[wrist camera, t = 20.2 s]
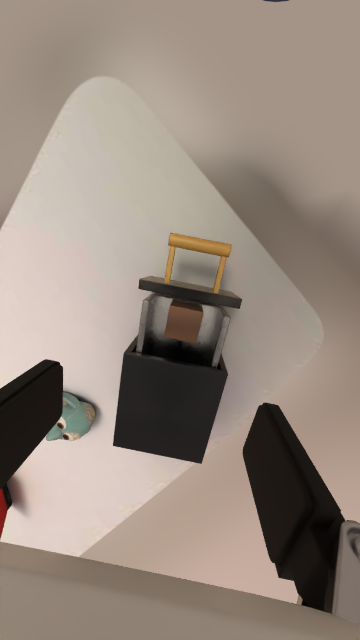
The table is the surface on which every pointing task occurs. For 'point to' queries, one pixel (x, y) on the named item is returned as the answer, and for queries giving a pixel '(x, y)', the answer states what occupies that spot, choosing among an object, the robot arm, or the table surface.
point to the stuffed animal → (72, 420)
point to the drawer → (213, 317)
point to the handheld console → (4, 505)
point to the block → (184, 321)
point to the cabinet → (167, 405)
